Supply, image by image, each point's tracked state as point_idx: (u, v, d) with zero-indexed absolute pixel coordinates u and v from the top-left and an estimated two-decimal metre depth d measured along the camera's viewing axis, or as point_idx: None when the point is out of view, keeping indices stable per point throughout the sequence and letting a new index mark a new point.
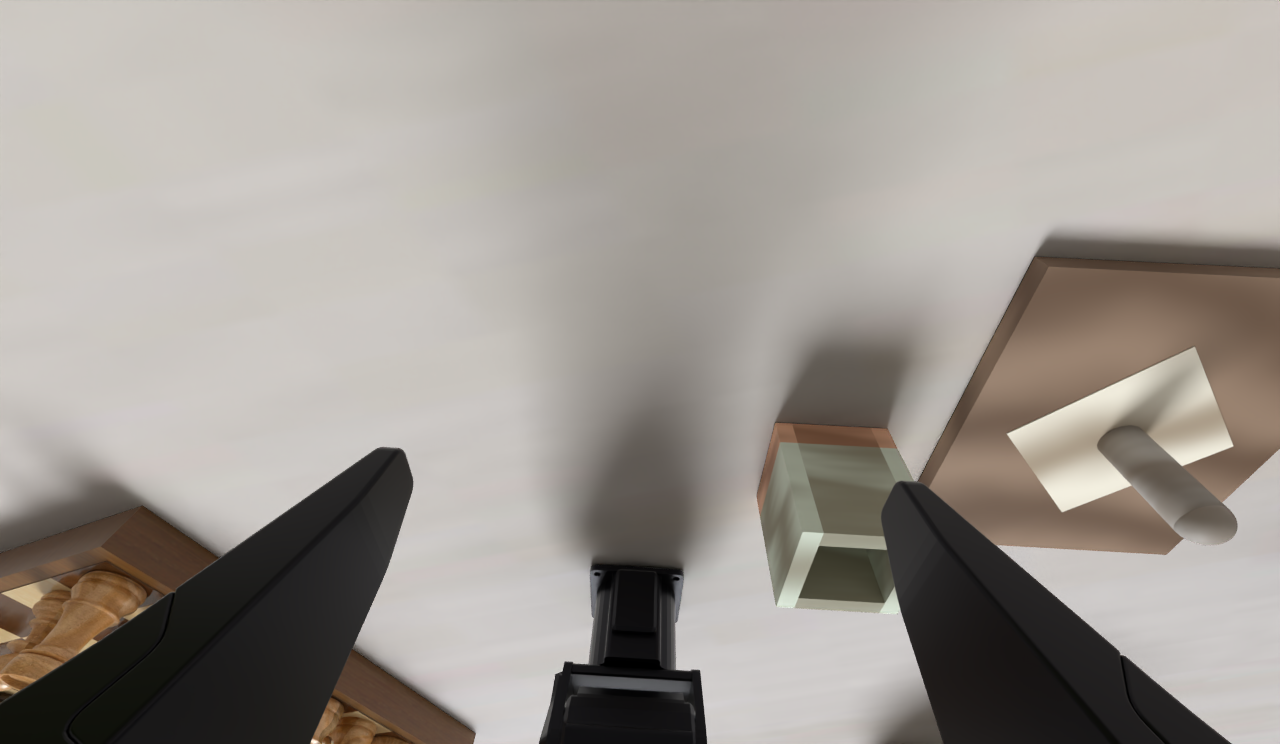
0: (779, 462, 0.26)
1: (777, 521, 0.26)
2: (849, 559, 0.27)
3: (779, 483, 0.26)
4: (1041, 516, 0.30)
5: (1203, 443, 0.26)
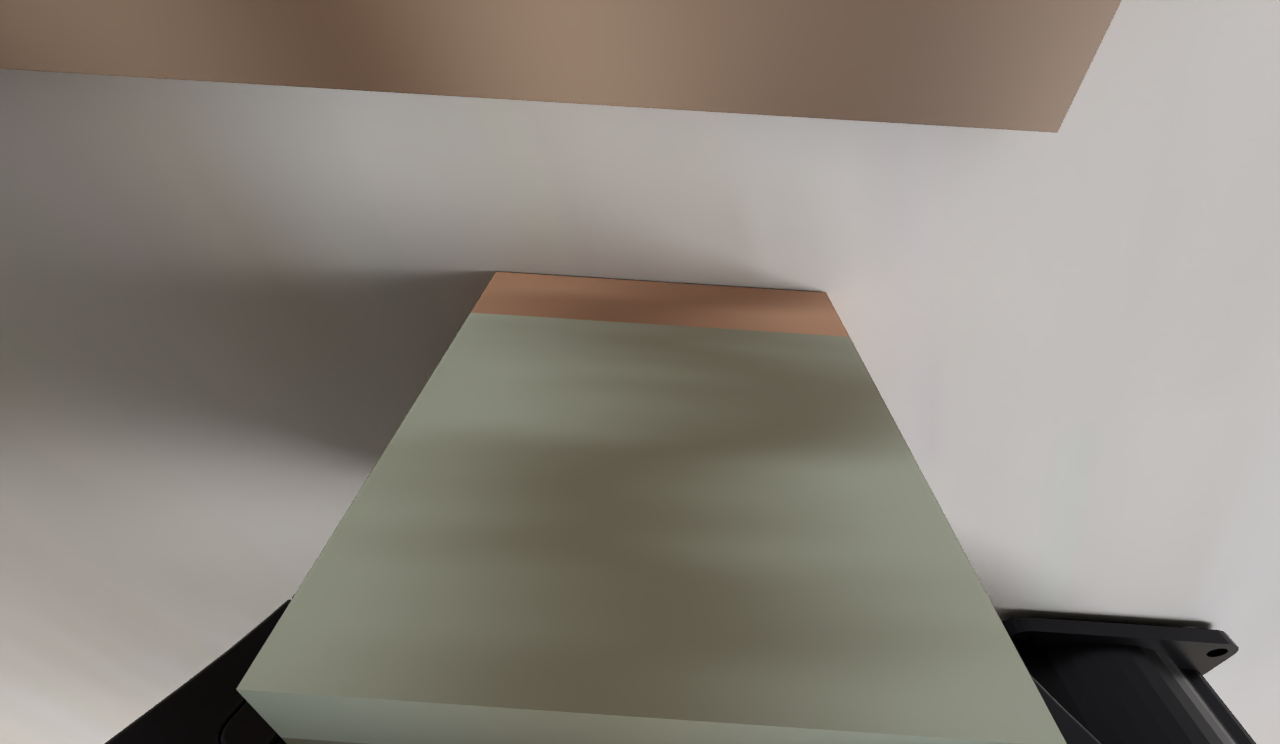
0: None
1: None
2: None
3: None
4: None
5: None
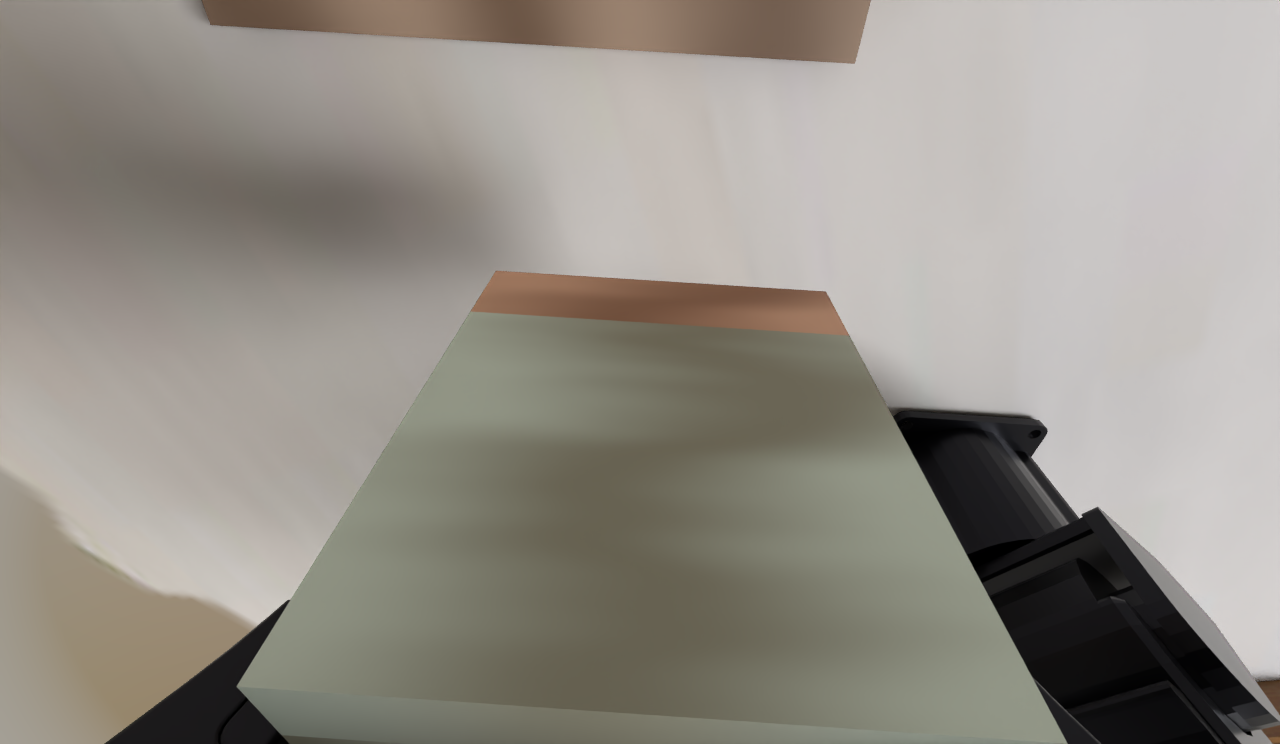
0: None
1: None
2: None
3: None
4: None
5: None
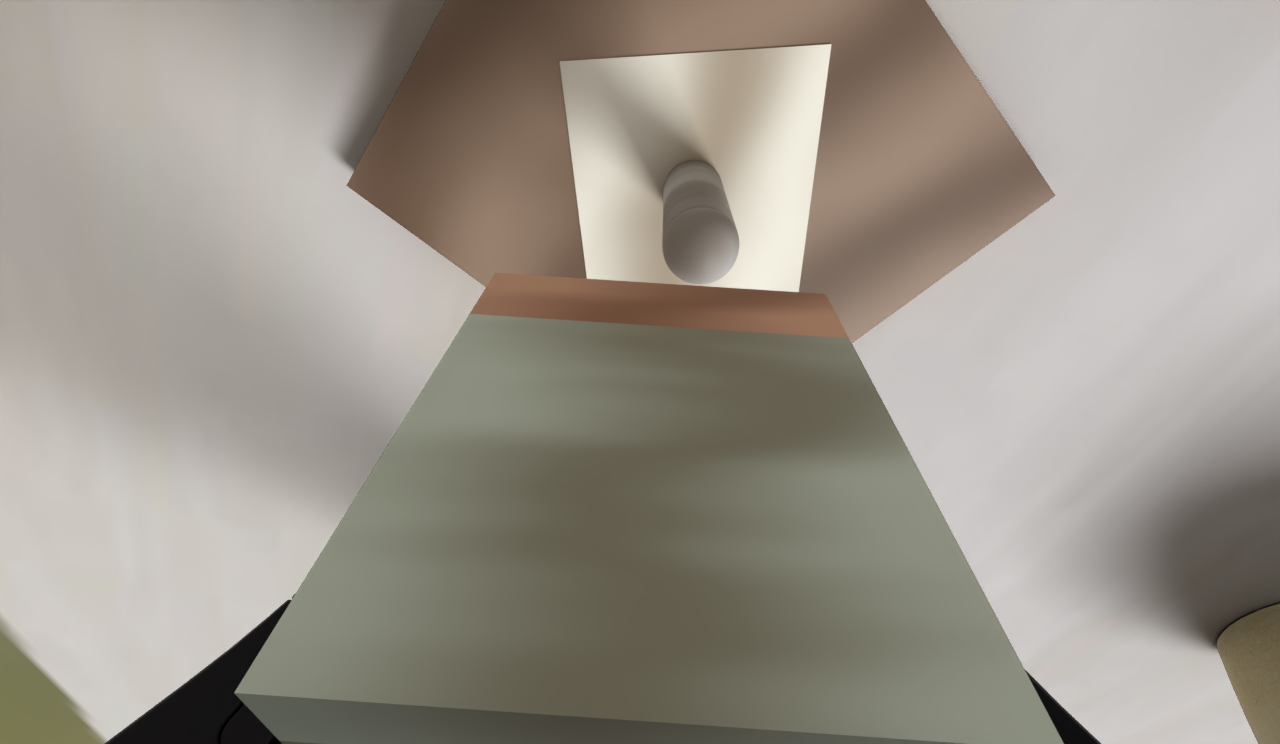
0: None
1: None
2: None
3: None
4: None
5: (792, 85, 0.16)
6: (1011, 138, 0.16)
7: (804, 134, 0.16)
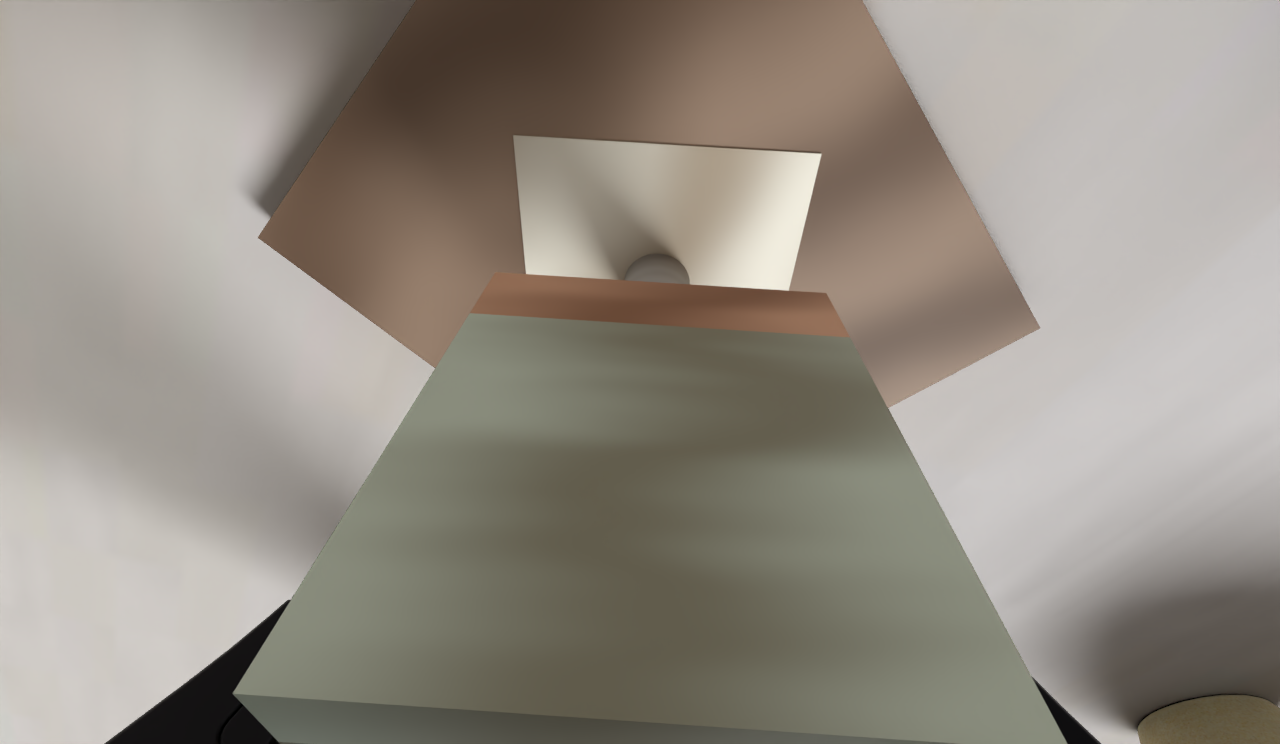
0: None
1: None
2: None
3: None
4: None
5: (775, 190, 0.14)
6: (1002, 268, 0.15)
7: (783, 241, 0.15)
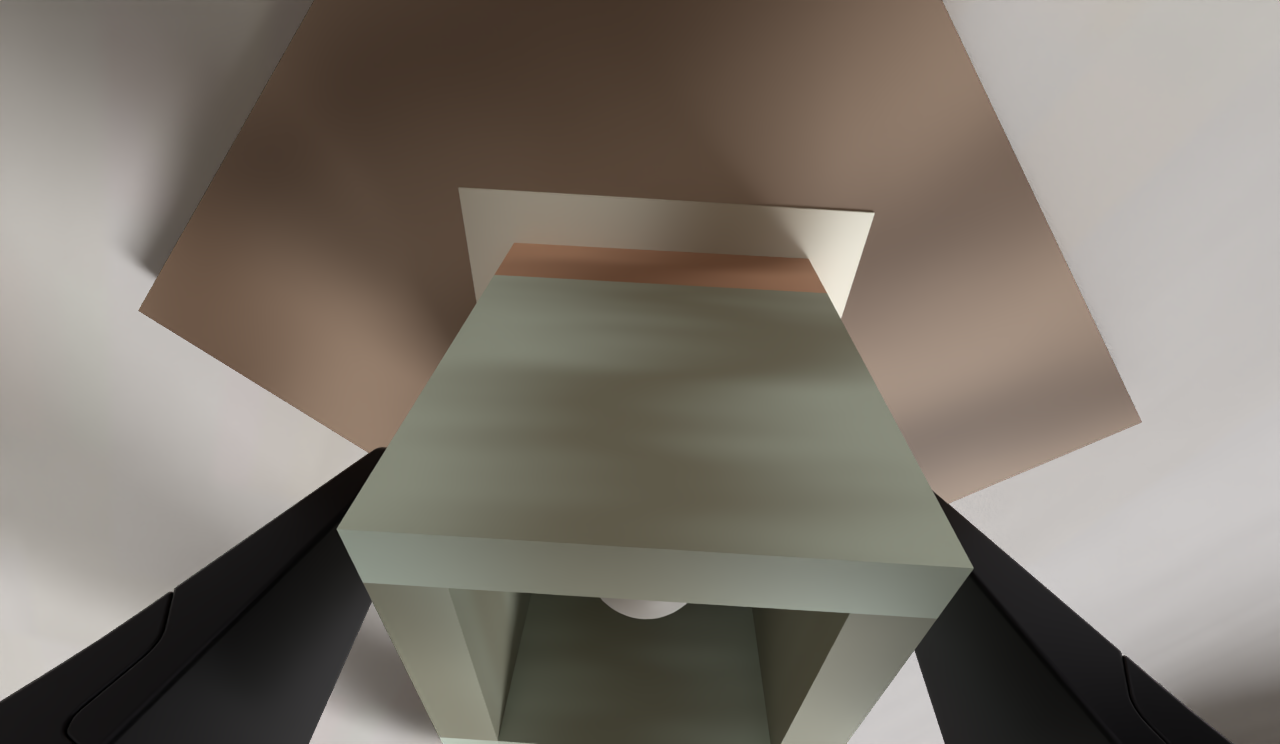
0: None
1: None
2: None
3: None
4: None
5: (809, 257, 0.11)
6: (1102, 354, 0.12)
7: None
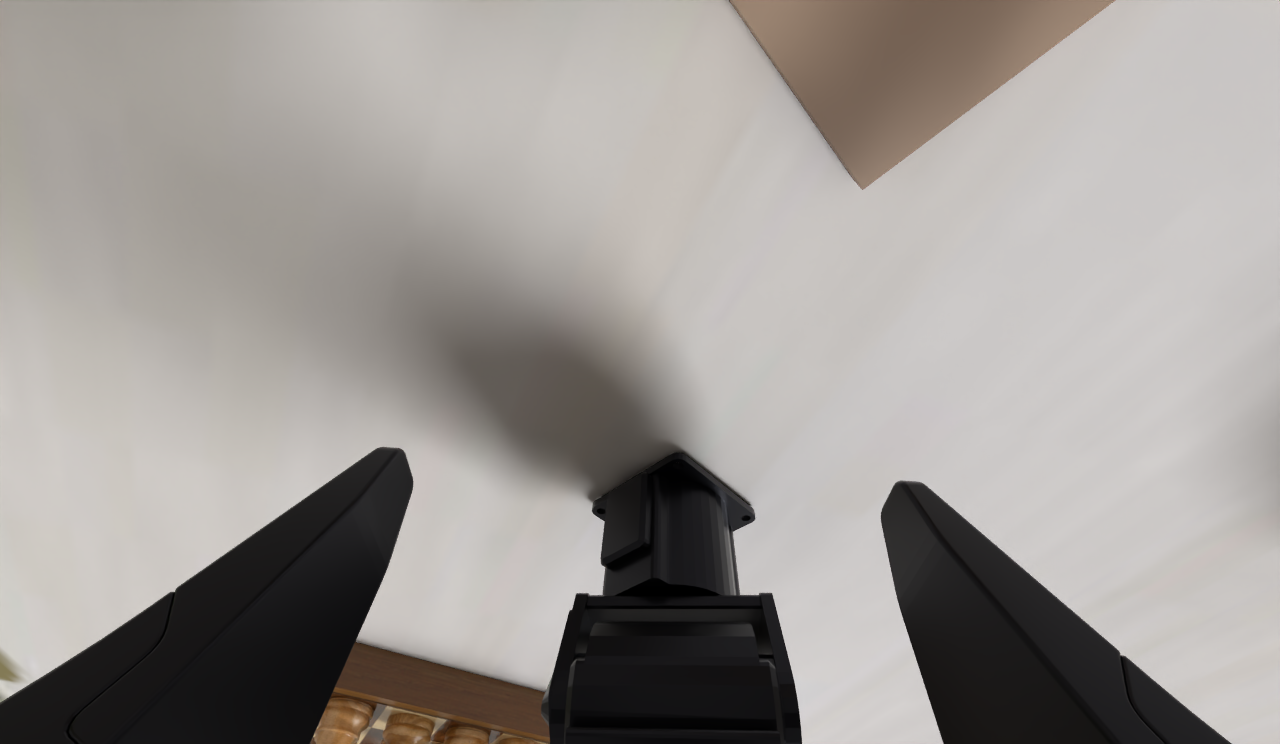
0: None
1: None
2: None
3: None
4: None
5: None
6: None
7: None
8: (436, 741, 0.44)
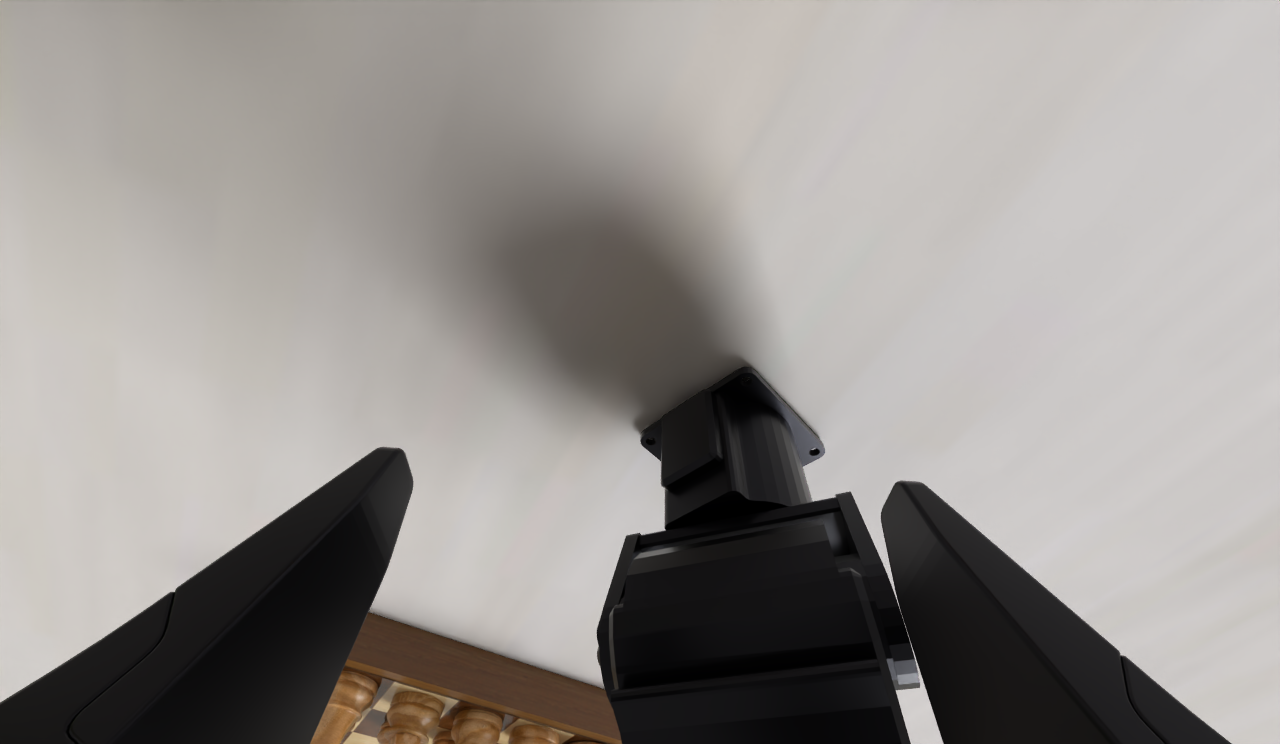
0: None
1: None
2: None
3: None
4: None
5: None
6: None
7: None
8: (442, 727, 0.40)
